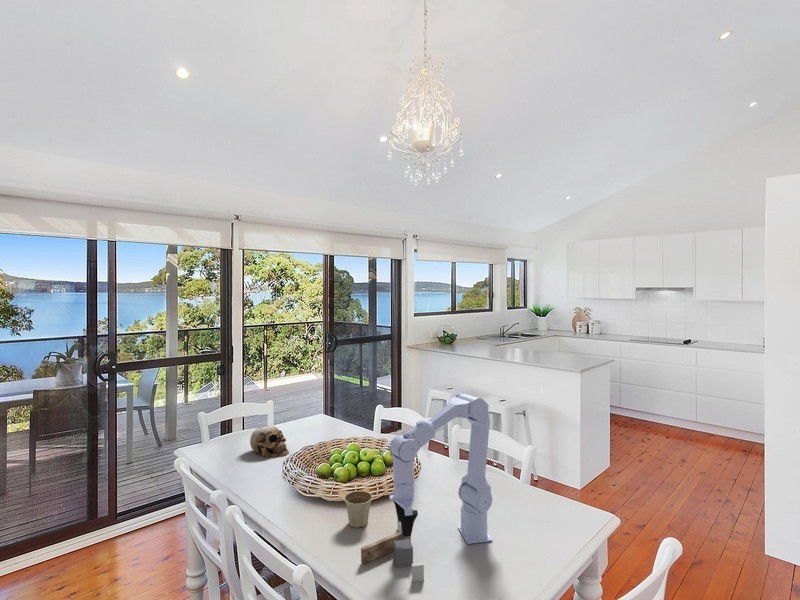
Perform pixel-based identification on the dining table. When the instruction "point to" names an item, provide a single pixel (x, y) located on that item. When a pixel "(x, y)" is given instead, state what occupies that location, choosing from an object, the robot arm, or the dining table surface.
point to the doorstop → (403, 553)
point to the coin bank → (269, 442)
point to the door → (379, 548)
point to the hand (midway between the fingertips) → (404, 528)
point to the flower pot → (358, 507)
